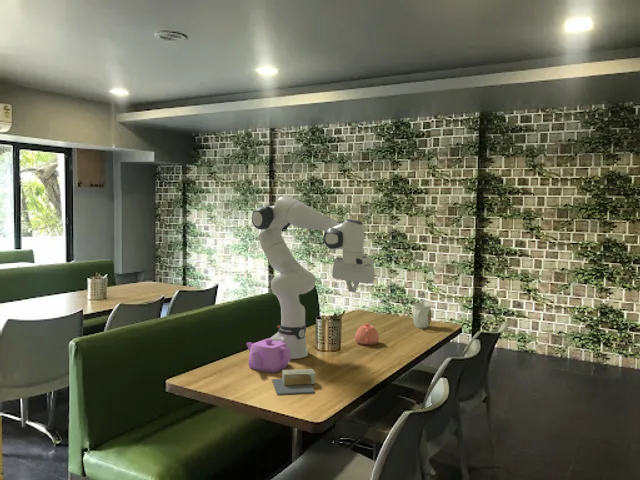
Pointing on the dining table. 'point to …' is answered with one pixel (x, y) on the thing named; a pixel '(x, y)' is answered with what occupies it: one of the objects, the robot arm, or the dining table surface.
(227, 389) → the dining table surface
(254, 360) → the teakettle
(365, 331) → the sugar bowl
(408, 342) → the dining table surface
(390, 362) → the dining table surface
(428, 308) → the pitcher
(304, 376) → the skincare box
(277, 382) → the mat
